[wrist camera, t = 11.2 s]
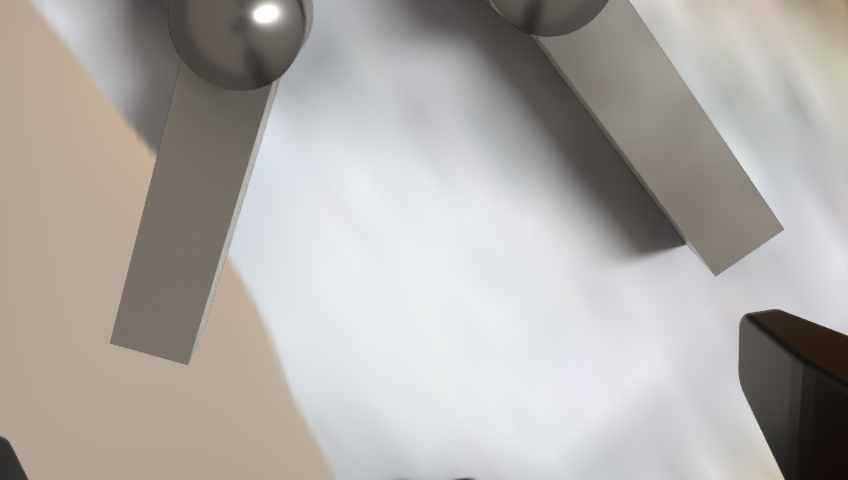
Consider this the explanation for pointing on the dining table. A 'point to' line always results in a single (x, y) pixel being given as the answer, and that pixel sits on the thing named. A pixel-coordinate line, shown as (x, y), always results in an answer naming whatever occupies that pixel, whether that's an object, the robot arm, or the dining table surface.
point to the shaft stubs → (253, 97)
